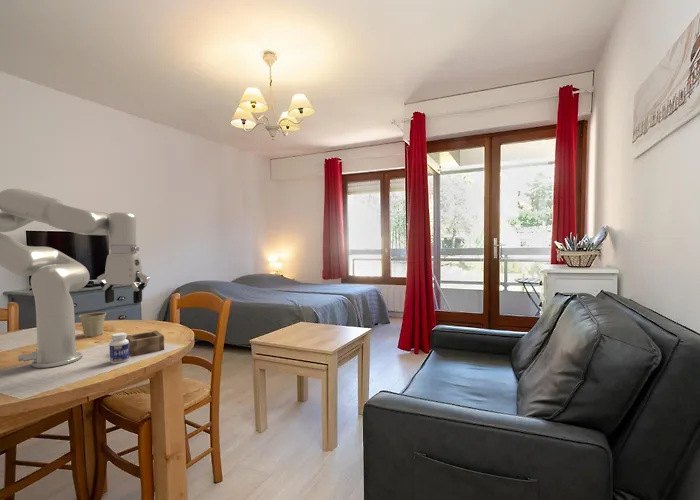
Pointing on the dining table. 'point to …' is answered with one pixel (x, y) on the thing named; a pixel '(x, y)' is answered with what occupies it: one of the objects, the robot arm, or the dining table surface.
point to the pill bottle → (119, 348)
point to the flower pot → (92, 323)
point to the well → (145, 342)
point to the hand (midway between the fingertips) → (123, 302)
